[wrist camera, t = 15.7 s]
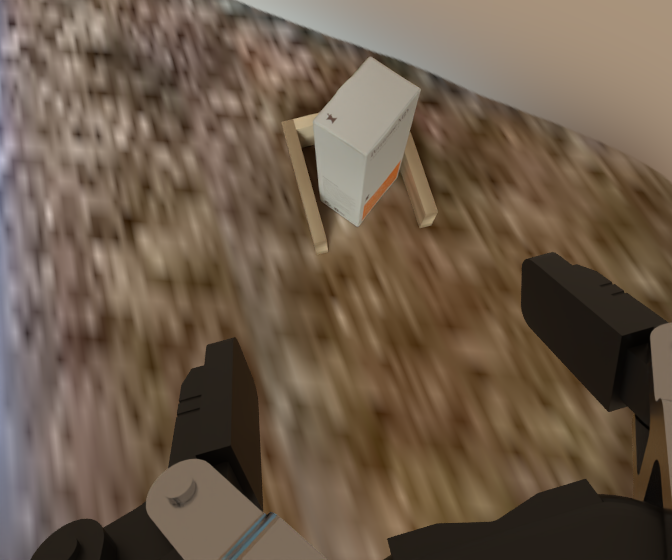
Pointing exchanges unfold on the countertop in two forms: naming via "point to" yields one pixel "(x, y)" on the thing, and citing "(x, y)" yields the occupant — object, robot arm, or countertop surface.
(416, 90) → the skincare box
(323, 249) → the u-shaped wooden frame
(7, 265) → the countertop surface
